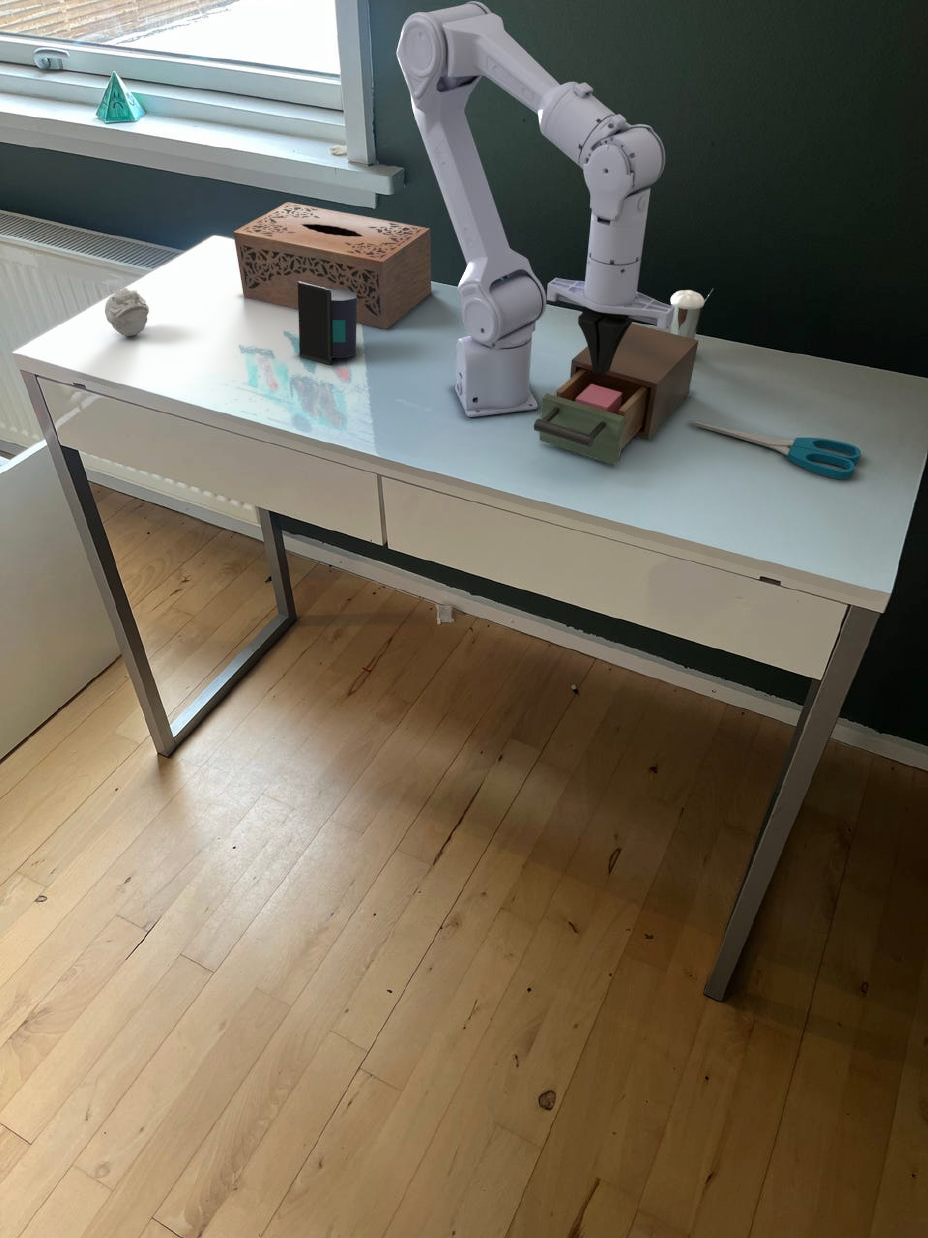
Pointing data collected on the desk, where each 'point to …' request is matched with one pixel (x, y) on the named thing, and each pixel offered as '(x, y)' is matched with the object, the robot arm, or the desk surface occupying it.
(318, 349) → the speaker
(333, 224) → the tissue box cover
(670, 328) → the milkshake
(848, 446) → the scissors
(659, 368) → the cabinet
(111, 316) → the frog figurine
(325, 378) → the desk surface
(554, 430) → the drawer
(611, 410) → the block
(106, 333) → the desk surface
